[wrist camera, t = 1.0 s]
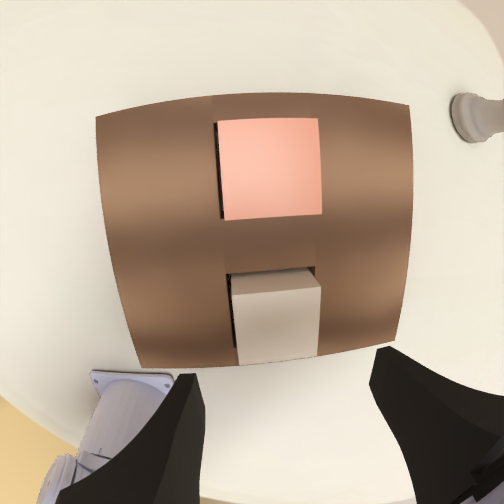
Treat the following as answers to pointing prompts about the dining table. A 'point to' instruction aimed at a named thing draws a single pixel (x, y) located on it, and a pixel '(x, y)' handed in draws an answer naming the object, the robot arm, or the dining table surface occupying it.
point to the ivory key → (276, 315)
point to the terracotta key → (270, 167)
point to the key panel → (253, 223)
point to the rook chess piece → (477, 117)
